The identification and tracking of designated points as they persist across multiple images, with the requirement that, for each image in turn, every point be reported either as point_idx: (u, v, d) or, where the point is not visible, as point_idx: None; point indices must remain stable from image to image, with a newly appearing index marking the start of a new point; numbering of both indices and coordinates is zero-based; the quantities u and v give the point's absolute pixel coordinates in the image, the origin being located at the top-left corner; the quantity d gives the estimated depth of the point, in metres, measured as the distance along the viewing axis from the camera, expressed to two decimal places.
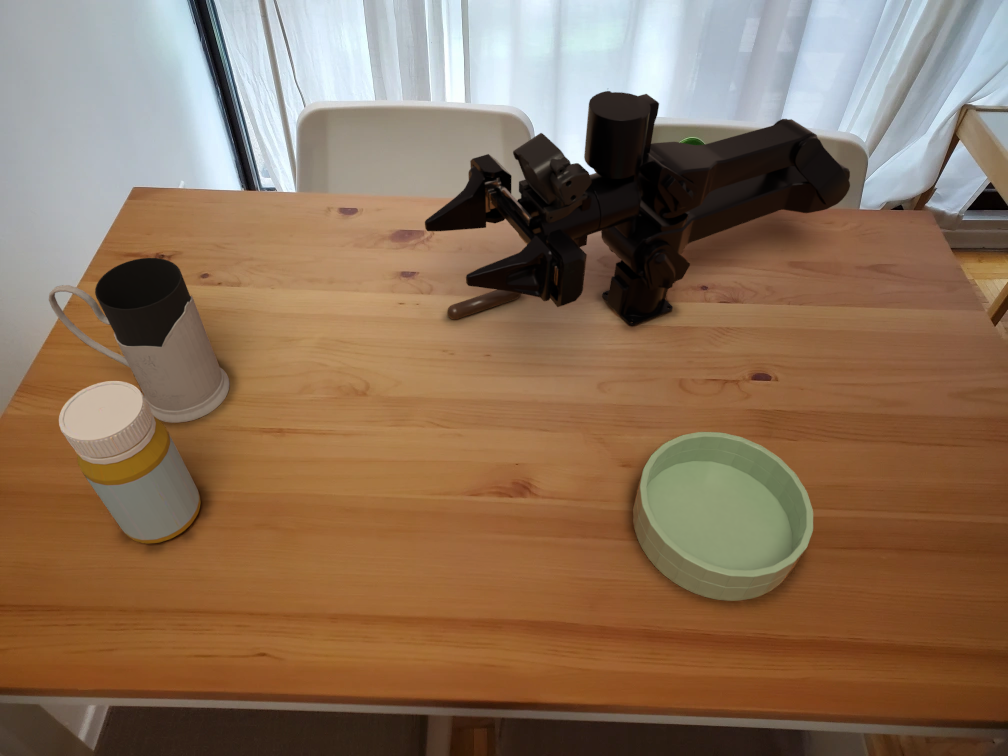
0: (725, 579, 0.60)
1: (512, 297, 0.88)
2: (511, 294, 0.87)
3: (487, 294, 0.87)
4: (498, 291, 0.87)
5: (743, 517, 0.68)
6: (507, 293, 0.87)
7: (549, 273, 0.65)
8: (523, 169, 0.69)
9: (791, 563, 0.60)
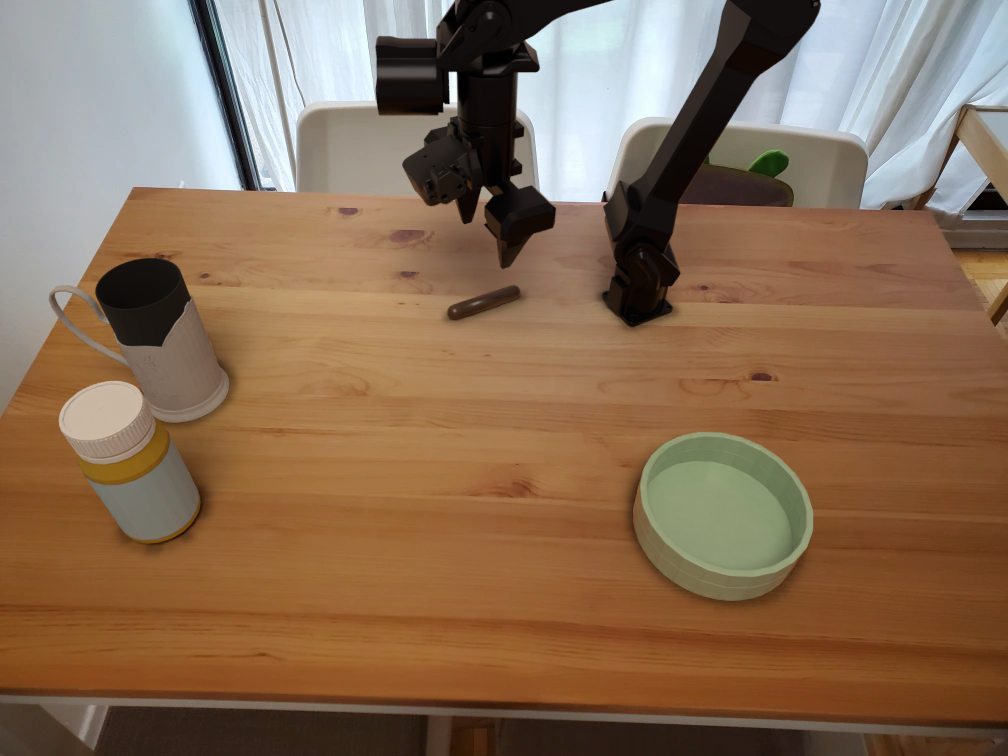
0: (725, 579, 0.60)
1: (512, 297, 0.88)
2: (511, 294, 0.87)
3: (487, 294, 0.87)
4: (498, 291, 0.87)
5: (743, 517, 0.68)
6: (507, 293, 0.87)
7: None
8: None
9: (791, 563, 0.60)
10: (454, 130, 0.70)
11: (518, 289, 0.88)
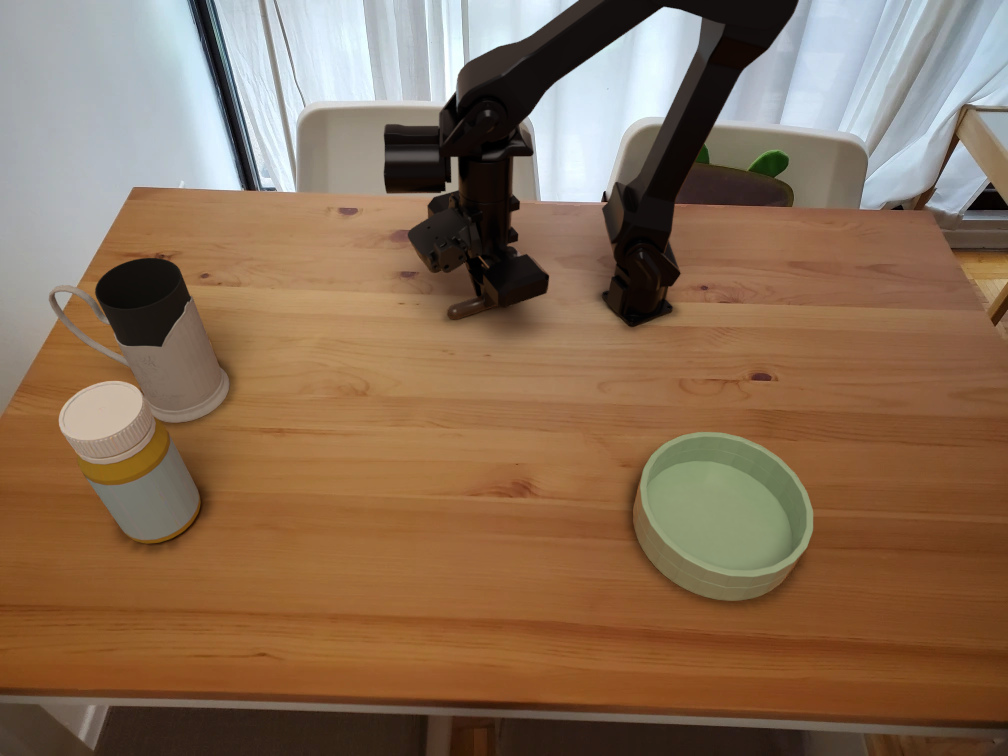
0: (725, 579, 0.60)
1: None
2: None
3: None
4: None
5: (743, 517, 0.68)
6: None
7: None
8: None
9: (791, 563, 0.60)
10: (455, 204, 0.76)
11: None
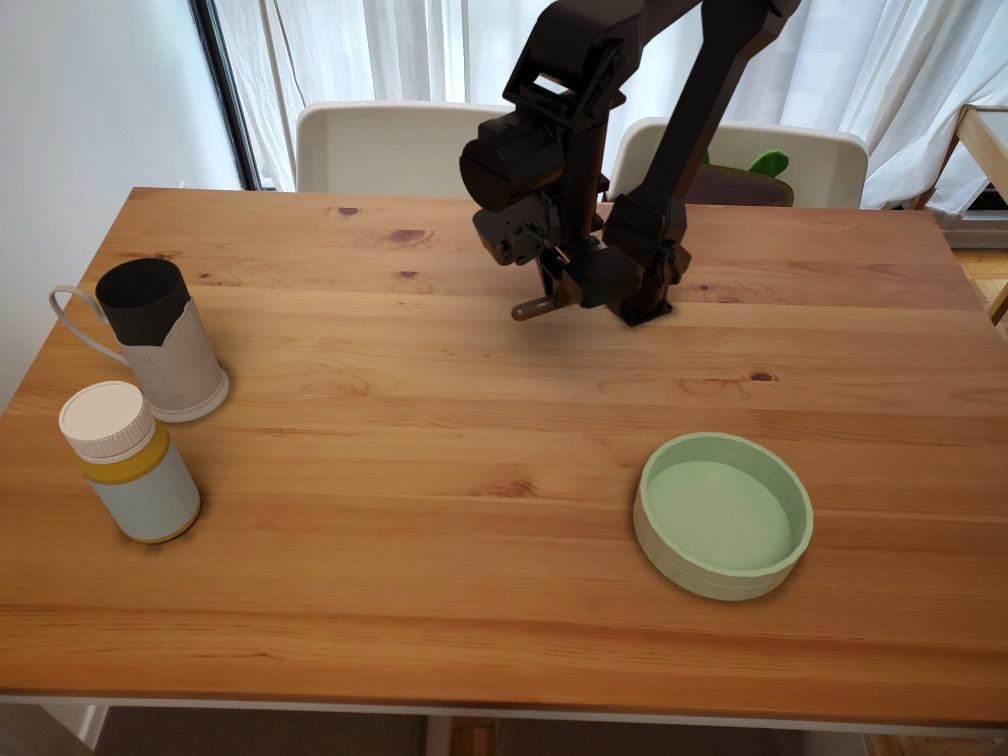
0: (725, 579, 0.60)
1: None
2: None
3: None
4: None
5: (743, 517, 0.68)
6: None
7: None
8: None
9: (791, 563, 0.60)
10: None
11: None
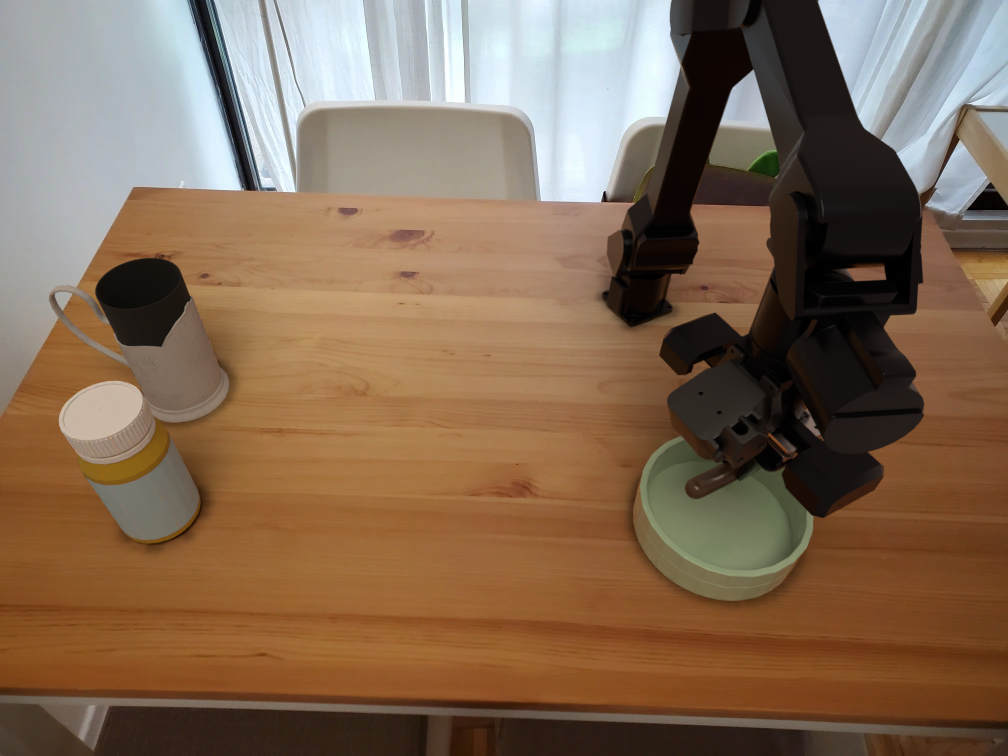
0: (725, 579, 0.60)
1: None
2: None
3: None
4: None
5: (743, 517, 0.68)
6: None
7: None
8: None
9: (791, 563, 0.60)
10: (742, 358, 0.51)
11: None
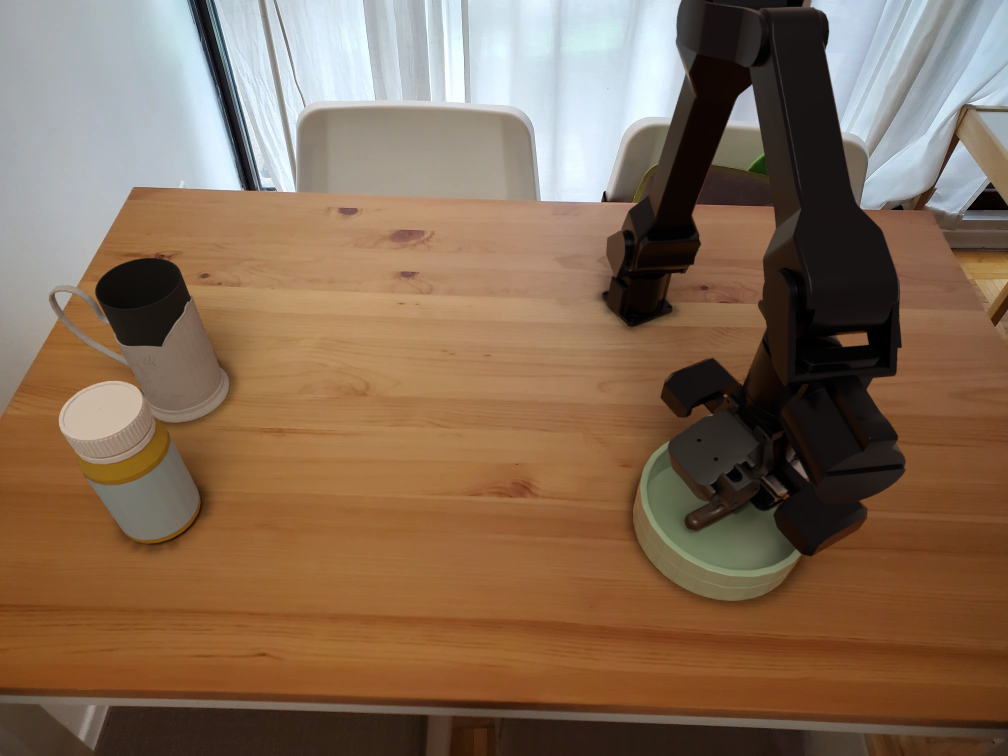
0: (725, 579, 0.60)
1: None
2: None
3: None
4: None
5: (743, 517, 0.68)
6: None
7: (781, 503, 0.58)
8: None
9: (791, 563, 0.60)
10: (737, 409, 0.55)
11: None
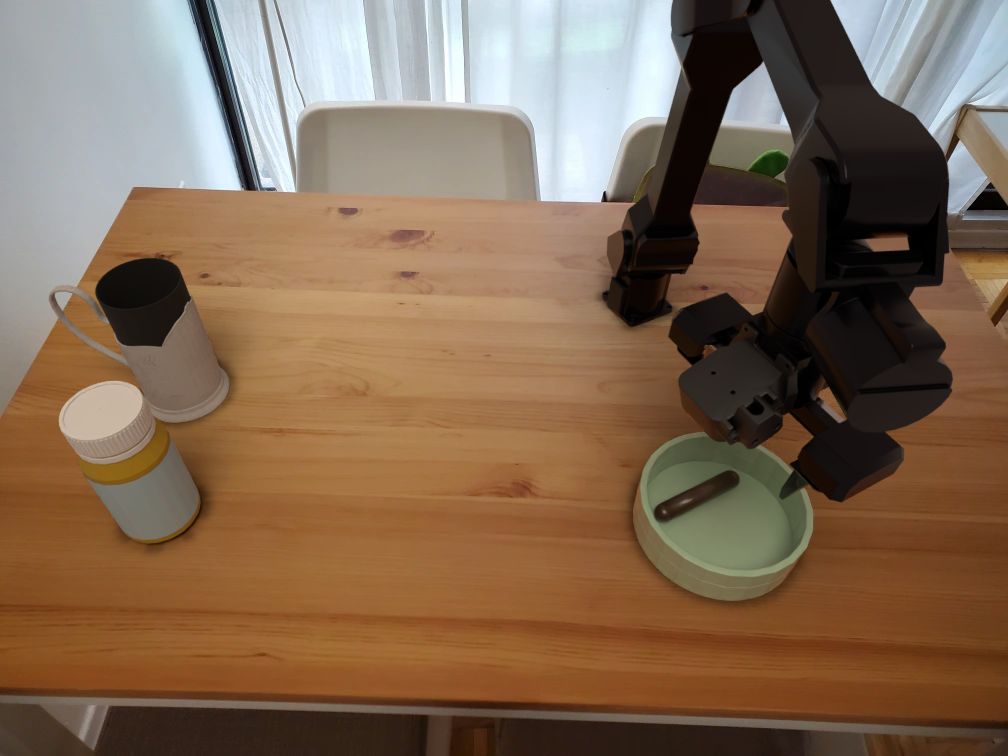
0: (725, 579, 0.60)
1: None
2: None
3: None
4: None
5: (743, 517, 0.68)
6: None
7: None
8: None
9: (791, 563, 0.60)
10: (757, 337, 0.49)
11: None
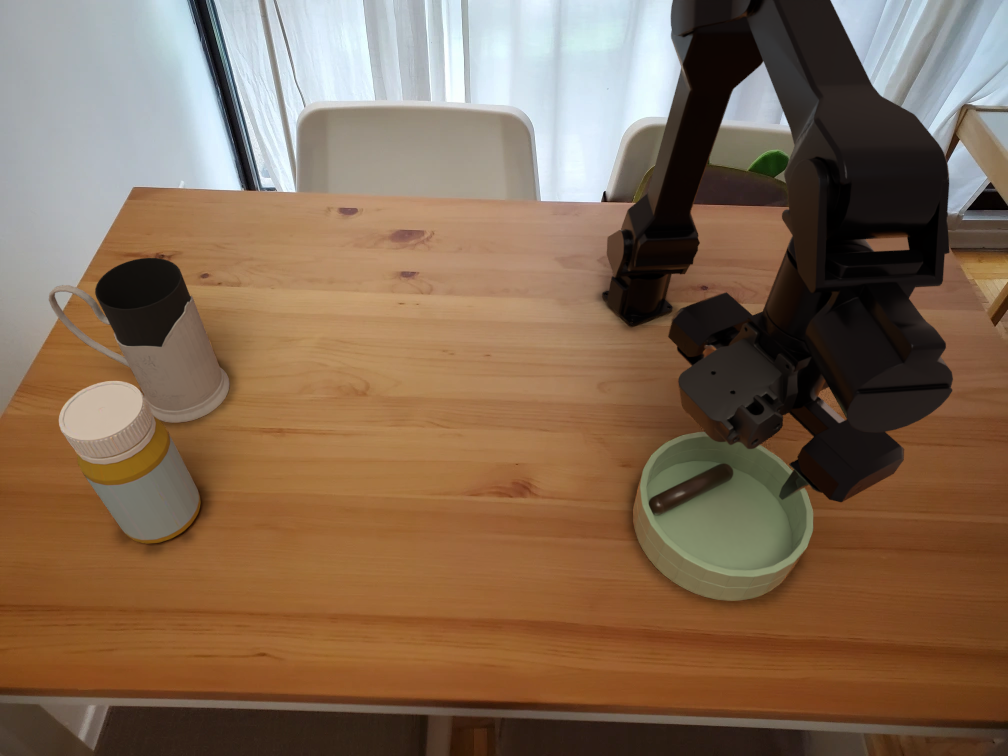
0: (725, 579, 0.60)
1: None
2: None
3: None
4: None
5: (743, 517, 0.68)
6: None
7: None
8: None
9: (791, 563, 0.60)
10: (757, 337, 0.49)
11: None
